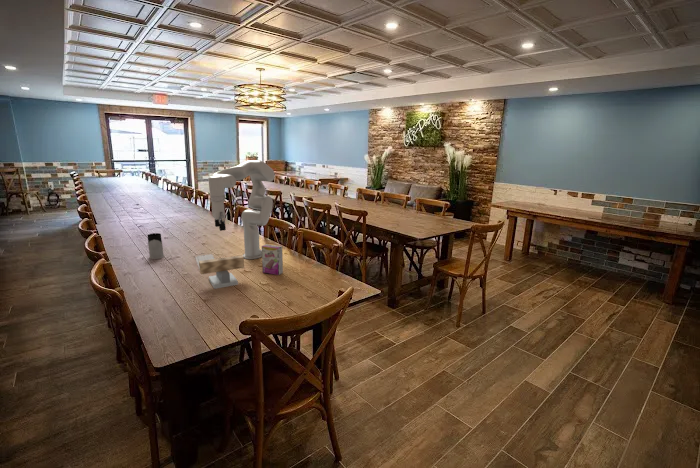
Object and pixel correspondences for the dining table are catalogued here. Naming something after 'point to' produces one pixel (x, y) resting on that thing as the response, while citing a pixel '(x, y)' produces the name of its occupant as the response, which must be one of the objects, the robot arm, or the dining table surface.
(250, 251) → the robot arm
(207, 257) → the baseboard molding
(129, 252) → the dining table surface
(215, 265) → the oak bar
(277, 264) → the candy bar box
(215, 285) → the plinth
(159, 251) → the glass holder
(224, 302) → the dining table surface
